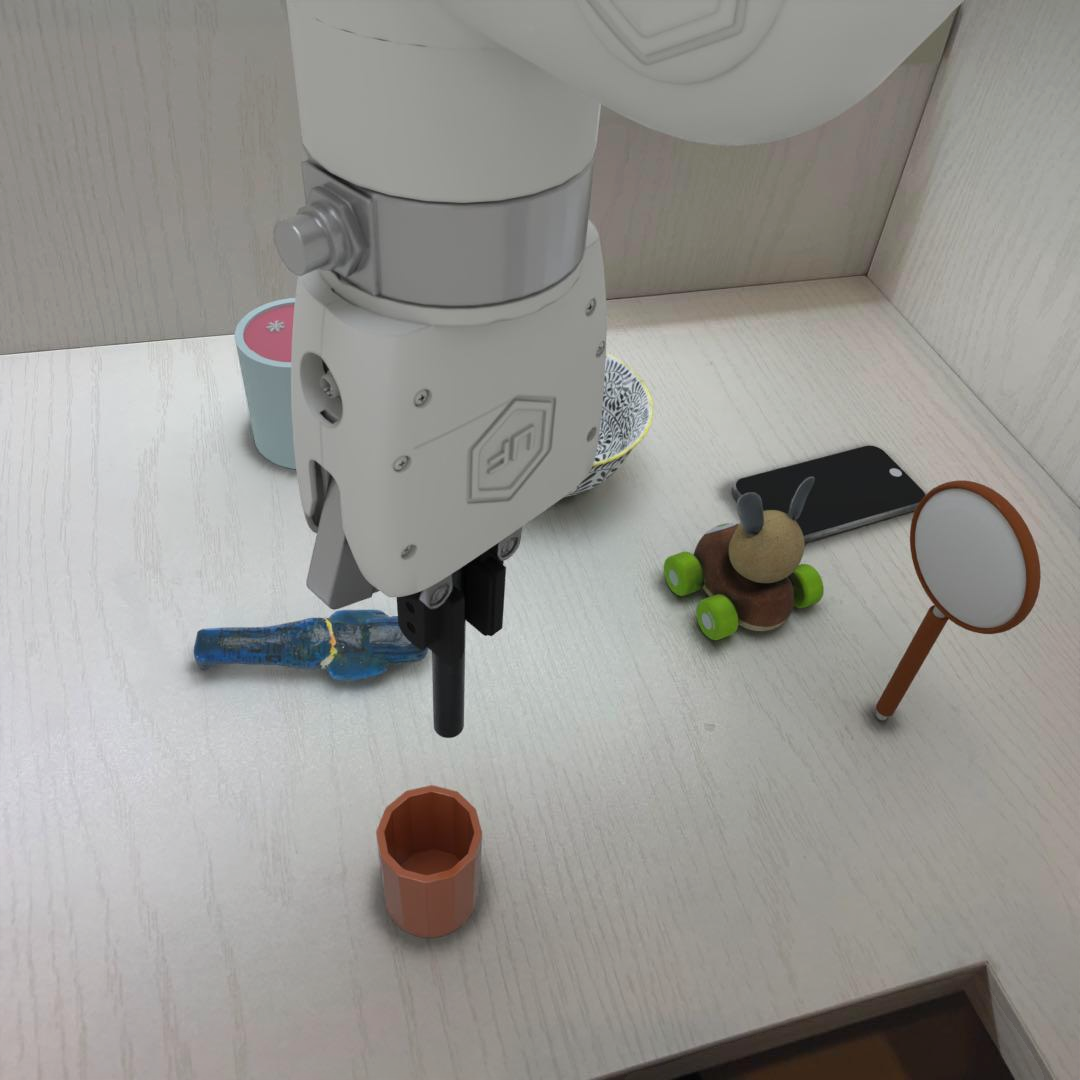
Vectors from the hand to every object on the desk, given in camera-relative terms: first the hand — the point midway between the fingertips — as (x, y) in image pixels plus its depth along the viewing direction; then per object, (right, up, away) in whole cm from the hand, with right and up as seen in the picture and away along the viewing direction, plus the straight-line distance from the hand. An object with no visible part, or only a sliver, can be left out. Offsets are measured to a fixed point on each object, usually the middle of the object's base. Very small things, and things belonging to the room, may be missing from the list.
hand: (451, 626), depth 39 cm
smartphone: (+27, +7, +40) cm, 49 cm away
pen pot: (-2, -16, +15) cm, 22 cm away
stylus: (-1, -5, +6) cm, 8 cm away
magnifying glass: (+26, -8, +25) cm, 37 cm away
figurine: (-11, -5, +25) cm, 28 cm away
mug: (-14, +11, +40) cm, 44 cm away
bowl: (+4, +9, +40) cm, 41 cm away
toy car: (+18, -1, +32) cm, 37 cm away
